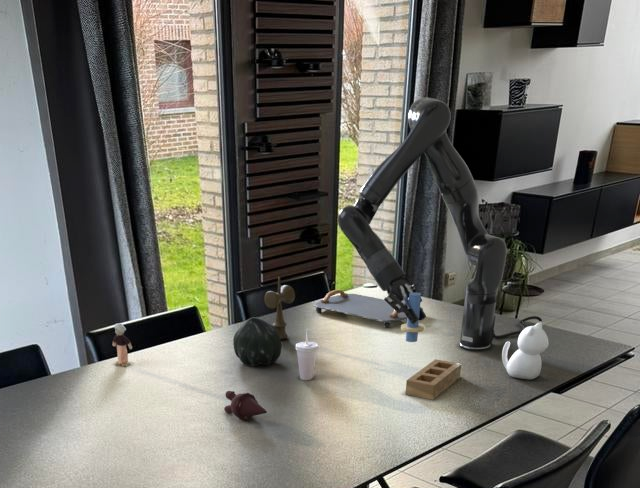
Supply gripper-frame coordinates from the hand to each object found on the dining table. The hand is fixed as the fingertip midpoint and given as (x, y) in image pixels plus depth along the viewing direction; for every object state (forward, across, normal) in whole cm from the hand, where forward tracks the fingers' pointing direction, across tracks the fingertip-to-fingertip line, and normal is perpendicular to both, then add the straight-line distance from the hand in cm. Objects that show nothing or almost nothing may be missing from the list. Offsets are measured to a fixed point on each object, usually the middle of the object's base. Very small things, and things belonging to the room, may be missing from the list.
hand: (419, 320), depth 202 cm
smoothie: (-5, -21, +27) cm, 35 cm away
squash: (-19, -20, +41) cm, 50 cm away
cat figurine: (+28, +17, -5) cm, 33 cm away
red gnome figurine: (0, -54, +22) cm, 58 cm away
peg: (+3, 0, +6) cm, 6 cm away
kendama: (-26, +2, +49) cm, 56 cm away
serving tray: (-22, +44, +45) cm, 66 cm away
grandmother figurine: (-41, -47, +63) cm, 89 cm away
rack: (+17, -4, +5) cm, 19 cm away
